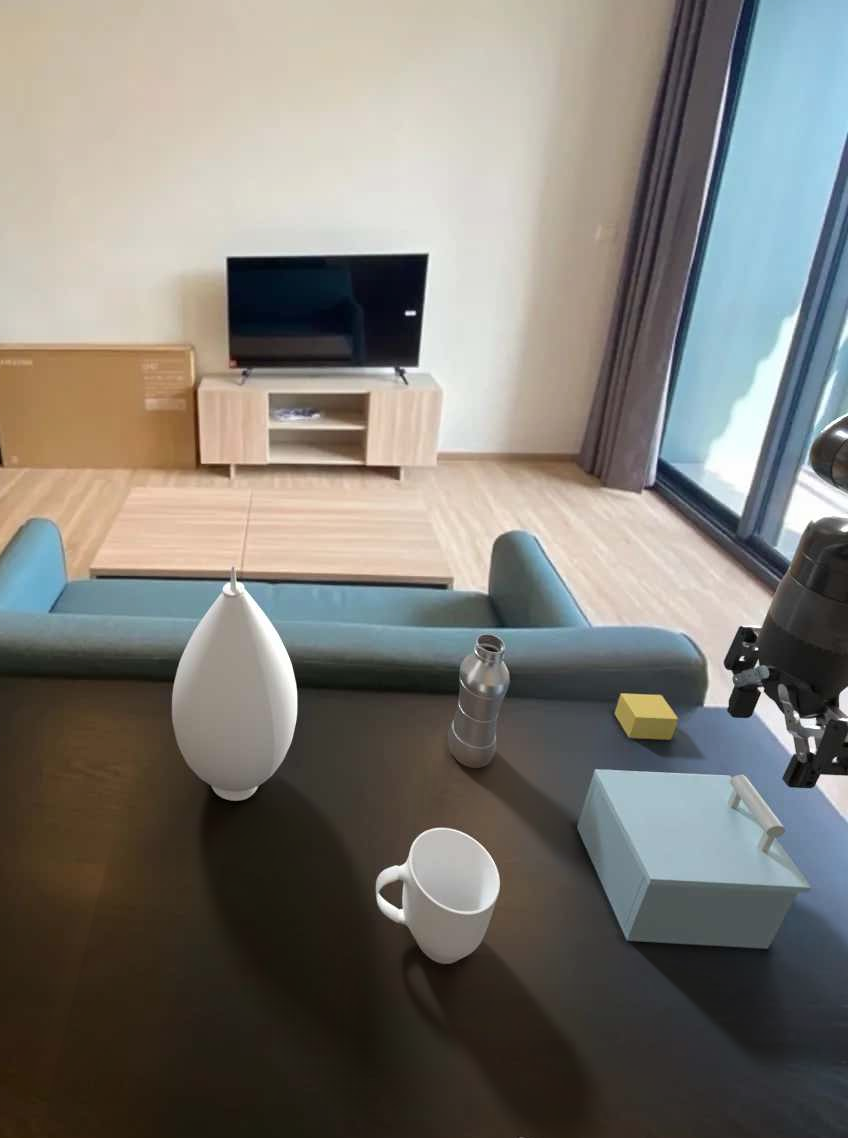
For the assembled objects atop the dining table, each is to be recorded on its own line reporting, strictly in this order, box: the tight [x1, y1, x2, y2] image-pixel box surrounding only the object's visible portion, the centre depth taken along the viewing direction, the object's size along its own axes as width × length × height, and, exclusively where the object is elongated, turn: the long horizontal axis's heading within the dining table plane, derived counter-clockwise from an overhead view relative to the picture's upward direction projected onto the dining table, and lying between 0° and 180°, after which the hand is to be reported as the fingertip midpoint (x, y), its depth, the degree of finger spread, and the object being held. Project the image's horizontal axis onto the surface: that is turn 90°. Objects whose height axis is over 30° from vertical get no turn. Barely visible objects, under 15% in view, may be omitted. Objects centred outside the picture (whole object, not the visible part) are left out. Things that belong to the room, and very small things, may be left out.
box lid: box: [593, 768, 812, 893], centre depth 70 cm, size 16×13×5 cm
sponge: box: [614, 693, 679, 741], centre depth 95 cm, size 6×4×4 cm
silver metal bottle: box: [447, 633, 511, 769], centre depth 88 cm, size 6×7×20 cm
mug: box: [375, 827, 501, 965], centre depth 68 cm, size 12×9×12 cm
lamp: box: [171, 564, 298, 802], centre depth 81 cm, size 16×16×35 cm
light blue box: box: [577, 774, 799, 950], centre depth 73 cm, size 15×13×10 cm
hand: (764, 747), depth 67 cm, fingers open, 8 cm apart
